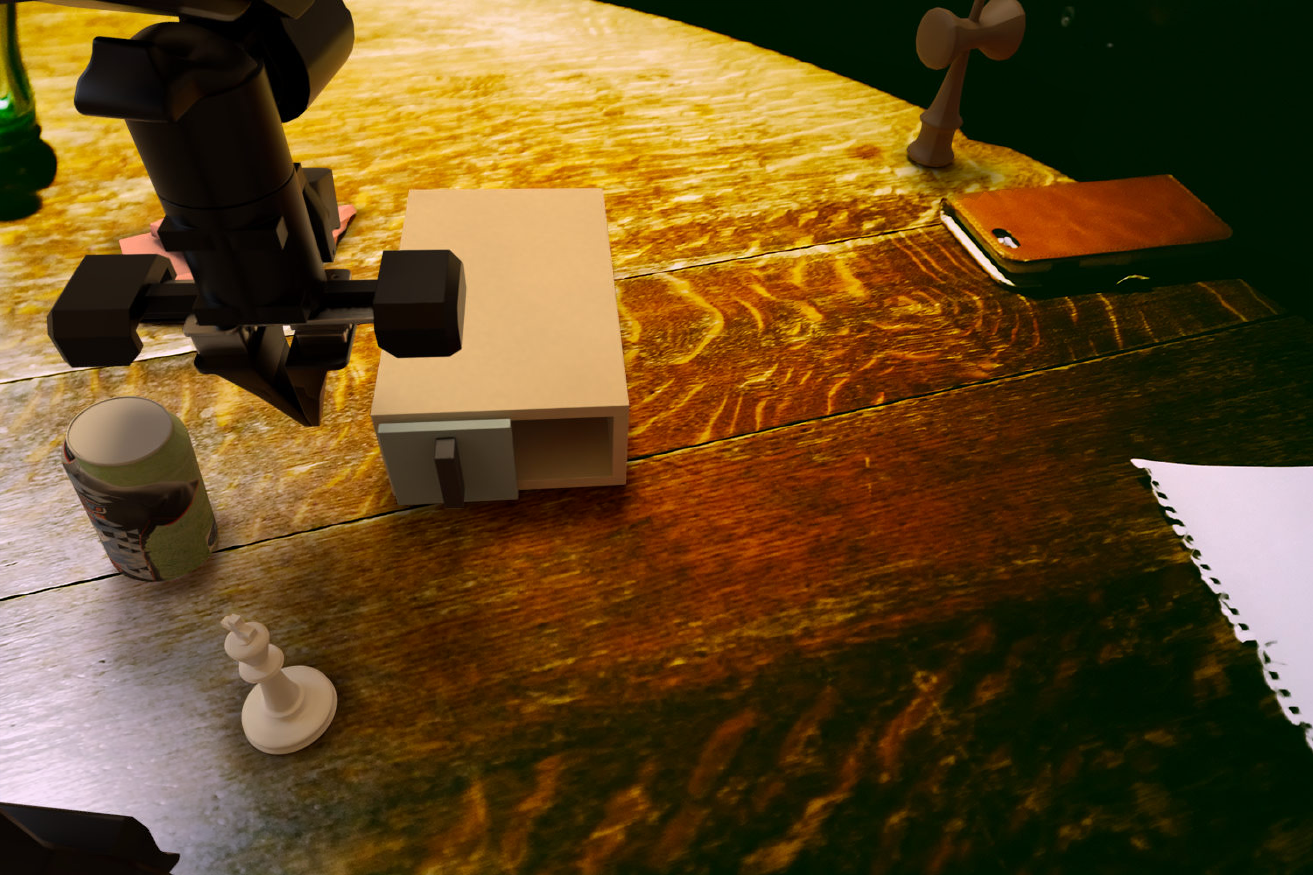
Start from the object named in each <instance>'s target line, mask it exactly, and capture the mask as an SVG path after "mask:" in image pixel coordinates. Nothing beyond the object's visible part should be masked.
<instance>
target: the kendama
mask: <svg viewBox="0 0 1313 875" xmlns="http://www.w3.org/2000/svg"><path fill="white" fill-rule="evenodd" d="M985 2H986V0H974V2H973V3H972V6H971V10H970V13H969V16H968V17H967V18H960V17H958V16H957V15H956V14H954V13H953V12H952V11H950V9H947V8H942V7H934V8H932V9H928V10H927V12H926V13H925V14H924V15H923V17H922V18H921V20H920V23H919V24H918V28H917V32H916V37H915V46H916V53H917V55H918V58H919V60H920V62H921V63H922V64H923V65H924V66H925V67H926V68H929V69H932V70H936V71H937V70H943V69H945V68H947V67H948V66H949V68H948V70H947V73H946V75H945V77H944V80H943V81H942V83H941V86H940V88H939V89H938V92H937V93H936V95H935V98H934V99H933V101H932V103H931V104H930V106H929V107H928V108H927V109H925V110H923V112H921V113H920V114H919V120H920V123H921V127H920V131H919V133H918V136H917V137H916V139H915V140H913V141H912V142H910V144H909V145H908V146H907V147H906V153H907V155H908V157H909V158H910V159H911V160H912V161H913V162H916V163H917V164H919V165H922V166H925V167H932V168H939V167H944V166H947V165H949V164H950V163H952V162H953V161H954V159H955V153H954V149H953V142H954V141H953V140H954V138H955V133H956V131H958V130H959V129H960V127H961V126H962V125H963V124H964V121H963V117H962V116H960V105H961V97H962V92H963V85H964V80H965V76H966V70H967V68H968V67H967V66H968V62H969V58H970V54H971V50H974V49H977V50H978V51H980V52H981V53H983V55H984V56H986V57H987V58H988V59H991V60H993V61H997V62H1000V61H1004V60H1008V59H1010V58H1011V57H1012V56H1013V55H1014V54H1015V53H1016V52H1017V51H1018V49H1019V47H1020V45H1021V43H1022V41H1023V39H1024V35H1025V31H1026V12H1025V11H1024V8H1023V6H1022V4H1021V3H1020V2H1019V1H1018V0H989V1H988V2H987V3H986V4H985Z"/></svg>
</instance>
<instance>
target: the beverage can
mask: <svg viewBox="0 0 1313 875" xmlns="http://www.w3.org/2000/svg"><path fill="white" fill-rule="evenodd" d="M60 455H61V456H60V458H61V463H62V466H63V469H64V470H65V472H66V475H67V476H68V479H69V481H70V483H71V484H72V488H74V491H75V493H76V495H77V497H78V498H79V500H80V502H81V503H80V504H82V507H83V509H84V511H85V512H86V516H88V519H89V520H90V523H91V525H92V526H93V528H94V531H95V533H96V535H97V537H98V538H99V541H100V542H101V544H102V546H103V548H104V550H105V552H106V555H107V556H108V558H109V561H110V563H111V564H112V566H113V567H114V568H115V570H116V571H117V572H118V573H120V574H121V575H123V576H124V577H126V578H128V579H131V580H133V581H137V582H143V583H162V582H163V583H164V582H168V581H172V580H175V579H179V578H182V577H184V576H186V575H188V574H190V573H192V572H193V571H195V570H197V569H198V568H199V567H200V566H202V565H203V564H204V563H205V562H206V561H207V560H208V559H209V558H210V557H211V555H212V554H213V552H214V551H215V548H216V546H217V545H218V541H219V540H218V539H219V527H218V524H217V521H216V517H215V513H214V511H213V508H212V504H211V501H210V498H209V494H208V492H207V488H206V484H205V482H204V478H203V475H202V471H201V469H200V465H199V462H198V459H197V455H196V453H195V450H194V446H193V443H192V439H191V436H190V433H189V429H188V428H187V426H186V425H185V423H184V422H183V420H182V419H181V418H179V417H178V416H177V415H176V414H175V413H173V412H172V411H170V410H168V409H167V408H166V407H165V406H164V405H163V404H161V403H160V402H158V401H156V400H155V399H151V398H148V397H145V396H137V395H119V396H113V397H108V398H105V399H101V400H99V401H96V402H94V403H92V404H90V405H88V406H87V407H84V409H82V410H81V411H79V412H78V413H77V414H76V415H75V416H74V417H73V418H72V419H71V421H70V422H69V424H68V425H67V429H66V432H65V438H64V439H63V444H62V446H61V452H60Z"/></svg>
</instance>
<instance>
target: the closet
mask: <svg viewBox="0 0 1313 875" xmlns="http://www.w3.org/2000/svg"><path fill="white" fill-rule="evenodd" d="M406 201H407V202H406V207H405V211H404V212H405V213H404V218H403V224H402V230H401V236H400V242H399V247H398V250H445V249H449V250H450V251H452V252H453V253H454V254H455V255H456V256H457V257H458V258H459V259H460V260H461V261H462V263H463V266H464V273H465V280H466V287H467V289H466V302H465V315H464V328H463V340H462V349H461V350H460V351H458V352H457V353H455V354H453V355H452V356H450V357H426V358H396V357H394V356H393V355H391V354H389V353H388V352H386V351H384V350H383V349H381V352H380V355H379V356H380V357H379V362H378V368H377V375H376V380H375V386H374V391H373V398H372V403H371V409H370V418H371V423H372V426H373V430H374V433H375V436H376V440H377V443H378V447H379V451H380V454H381V457H382V461H383V464H384V468H385V471H386V475H387V478H388V483H389V485H390V486H389V487H390V489H391V493H392V495H393V497H396V495H395V492H394V488H393V485H392V481H391V478H390V474H389V471H388V467H387V464H386V460H385V457H384V453H383V450H382V446H381V443H380V439H379V436H378V428H379V424H390V423H415V422H441V421H466V420H491V419H511V428H512V437H513V446H514V456H515V465H516V474H517V483H518V491H524V490H525V491H526V490H542V489H543V490H544V489H561V488H562V489H566V488H585V487H586V488H587V487H604V486H605V487H607V486H625V485H627V468H628V467H627V466H628V445H629V444H628V443H629V424H630V423H629V422H630V420H629V419H630V400H629V391H628V383H627V376H626V367H625V365H626V364H625V359H624V349H623V341H622V333H621V324H620V317H619V309H618V300H617V294H616V284H615V276H614V268H613V261H612V252H611V251H612V250H611V244H610V236H609V235H610V234H609V227H608V219H607V218H608V217H607V209H606V203H605V202H606V201H605V193H604V188H603V187H598V188H597V187H586V188H585V187H581V188H580V187H575V188H574V187H573V188H571V187H570V188H561V187H560V188H559V187H558V188H557V187H555V188H451V189H450V188H448V189H447V188H443V189H442V188H441V189H439V188H438V189H437V188H436V189H435V188H434V189H433V188H431V189H430V188H429V189H409V190H408V196H407V200H406Z"/></svg>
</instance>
